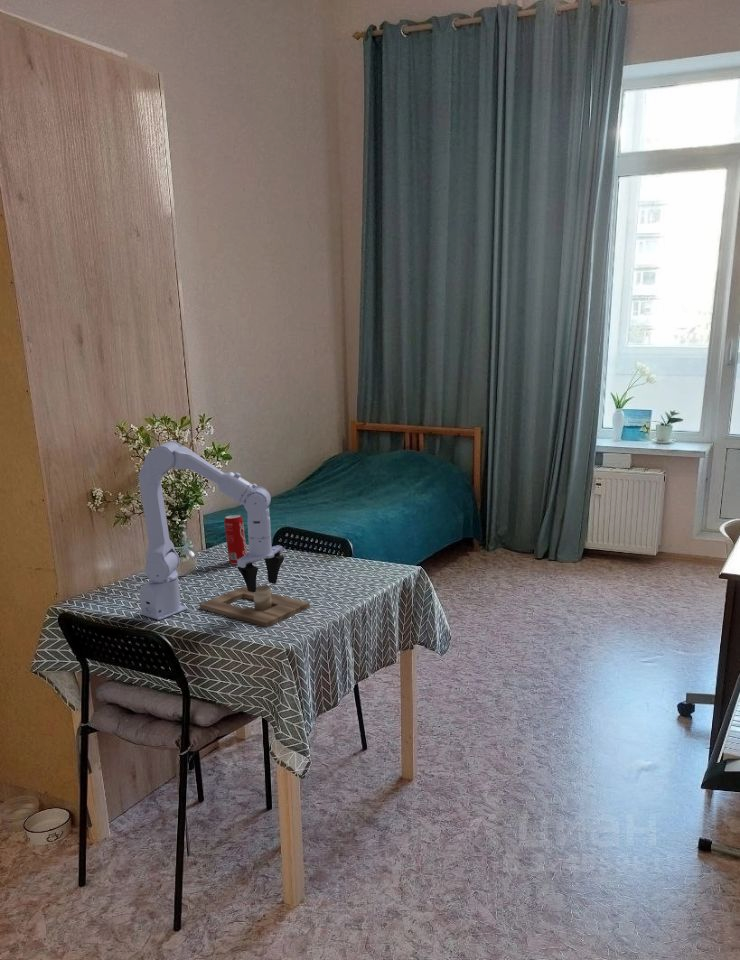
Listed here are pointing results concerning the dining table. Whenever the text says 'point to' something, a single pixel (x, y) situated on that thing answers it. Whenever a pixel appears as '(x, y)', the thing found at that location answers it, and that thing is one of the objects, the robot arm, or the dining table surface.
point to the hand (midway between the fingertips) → (262, 587)
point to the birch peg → (262, 598)
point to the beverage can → (235, 537)
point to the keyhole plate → (278, 612)
